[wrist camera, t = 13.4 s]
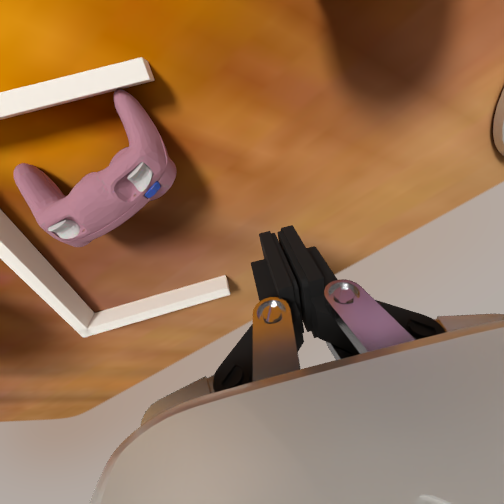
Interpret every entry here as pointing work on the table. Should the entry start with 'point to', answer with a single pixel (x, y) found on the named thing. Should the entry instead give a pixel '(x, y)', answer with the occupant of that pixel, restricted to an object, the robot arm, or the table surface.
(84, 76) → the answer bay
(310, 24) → the table surface
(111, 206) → the video game controller
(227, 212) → the table surface
